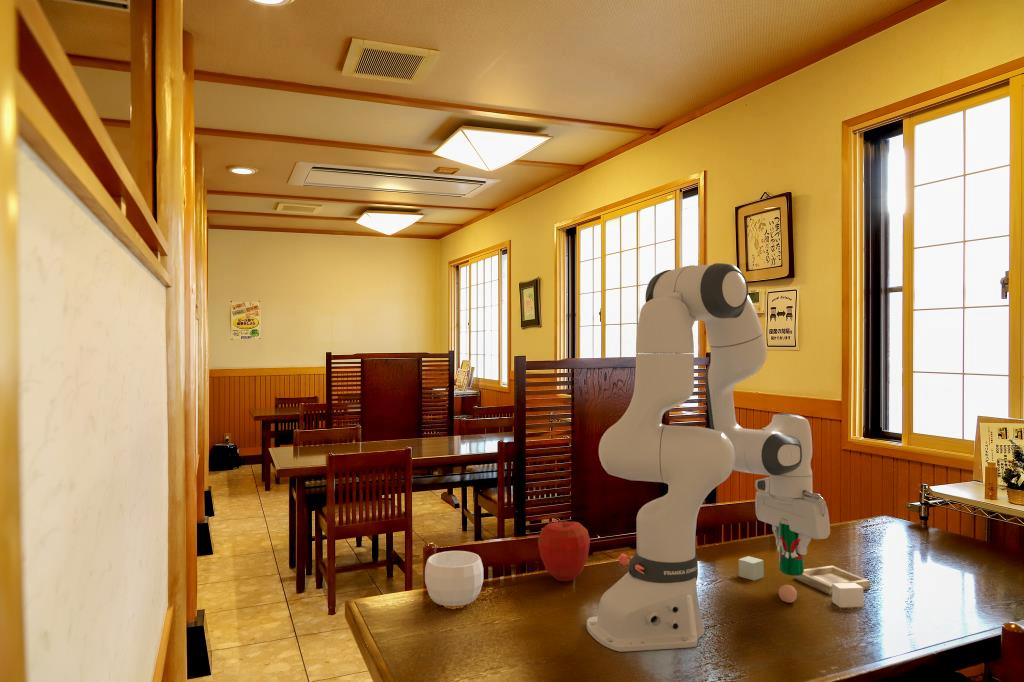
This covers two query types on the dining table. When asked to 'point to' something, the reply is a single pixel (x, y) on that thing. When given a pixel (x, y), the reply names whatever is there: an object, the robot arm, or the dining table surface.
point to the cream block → (847, 594)
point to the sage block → (751, 568)
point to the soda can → (789, 551)
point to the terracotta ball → (787, 593)
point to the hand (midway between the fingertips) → (791, 550)
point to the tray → (830, 578)
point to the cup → (454, 577)
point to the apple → (564, 549)
